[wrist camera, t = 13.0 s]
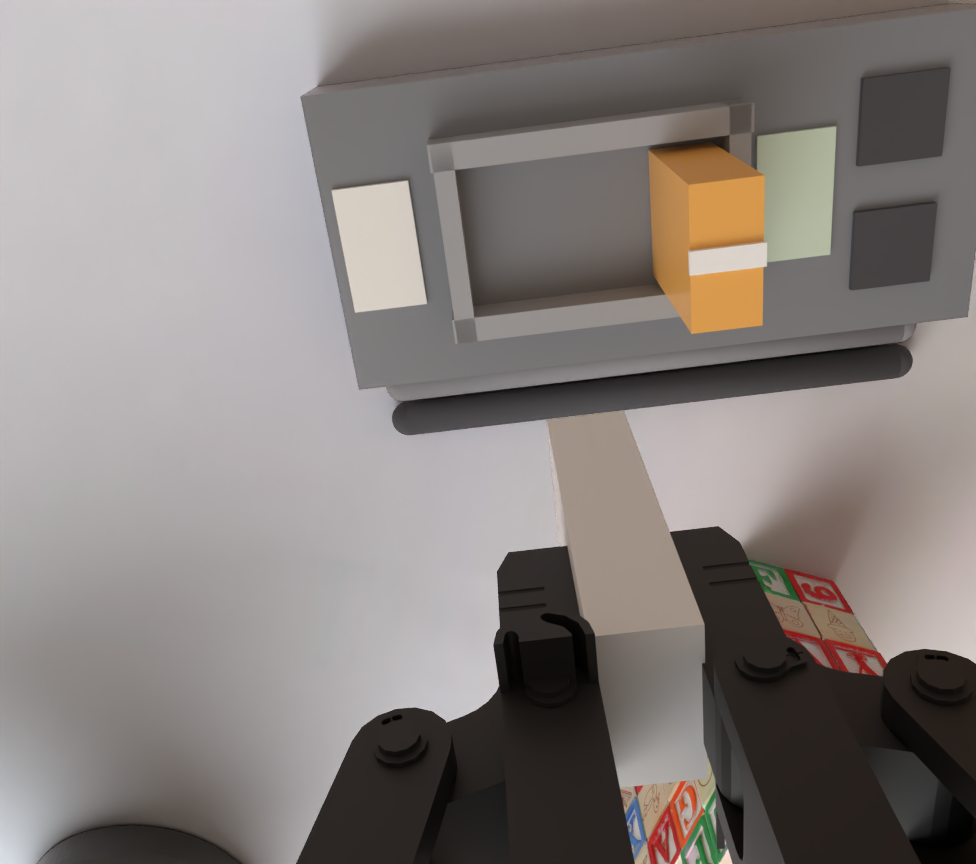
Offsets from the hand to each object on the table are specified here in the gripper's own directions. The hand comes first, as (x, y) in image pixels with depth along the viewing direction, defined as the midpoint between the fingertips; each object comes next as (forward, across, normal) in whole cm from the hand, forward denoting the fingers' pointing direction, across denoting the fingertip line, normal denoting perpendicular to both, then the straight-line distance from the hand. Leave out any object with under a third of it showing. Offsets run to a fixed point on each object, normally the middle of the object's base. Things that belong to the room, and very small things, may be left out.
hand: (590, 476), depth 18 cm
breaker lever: (+20, +6, 0) cm, 21 cm away
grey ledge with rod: (+24, +5, -8) cm, 26 cm away
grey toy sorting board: (+24, +5, 0) cm, 25 cm away
